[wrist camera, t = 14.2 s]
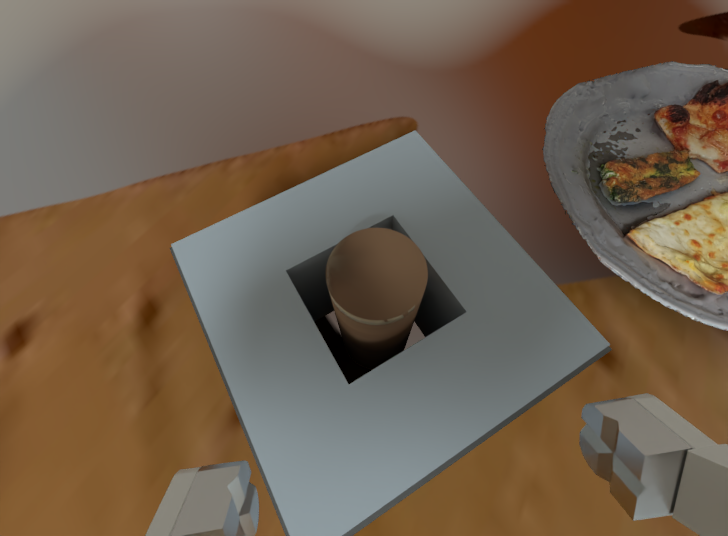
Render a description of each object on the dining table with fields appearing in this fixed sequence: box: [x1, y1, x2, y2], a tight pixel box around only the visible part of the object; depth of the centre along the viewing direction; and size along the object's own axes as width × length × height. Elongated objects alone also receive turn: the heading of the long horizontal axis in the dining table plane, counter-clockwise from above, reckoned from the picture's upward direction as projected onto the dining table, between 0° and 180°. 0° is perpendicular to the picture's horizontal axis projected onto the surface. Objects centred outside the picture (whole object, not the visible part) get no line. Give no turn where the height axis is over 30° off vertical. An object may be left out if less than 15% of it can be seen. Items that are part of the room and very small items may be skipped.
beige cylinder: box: [326, 228, 428, 369], centre depth 19 cm, size 4×4×10 cm
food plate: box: [543, 61, 728, 331], centre depth 26 cm, size 25×23×4 cm
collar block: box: [170, 130, 612, 536], centre depth 19 cm, size 14×14×8 cm
